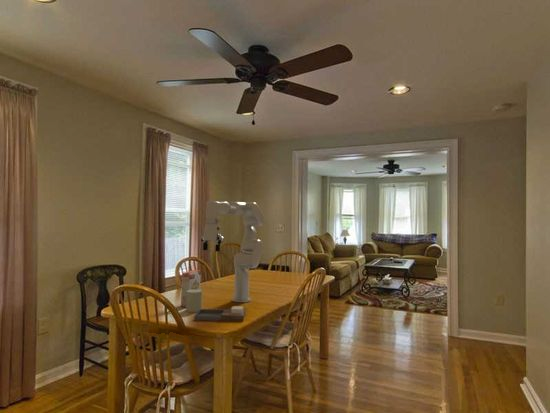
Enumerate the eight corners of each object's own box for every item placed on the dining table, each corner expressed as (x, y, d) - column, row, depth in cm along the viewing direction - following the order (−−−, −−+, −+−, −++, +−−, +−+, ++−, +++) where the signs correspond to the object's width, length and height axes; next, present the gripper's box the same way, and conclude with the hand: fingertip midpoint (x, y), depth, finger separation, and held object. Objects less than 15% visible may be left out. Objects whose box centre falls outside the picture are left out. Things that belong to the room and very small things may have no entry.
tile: (232, 310, 194) (232, 306, 195) (243, 310, 195) (243, 306, 195) (231, 313, 188) (231, 308, 189) (242, 313, 189) (242, 309, 189)
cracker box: (189, 307, 210) (189, 273, 211) (180, 306, 212) (181, 272, 212) (200, 302, 223) (201, 270, 224) (192, 301, 225) (193, 269, 226)
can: (202, 308, 210) (202, 288, 210) (201, 312, 201) (201, 291, 201) (186, 308, 209) (187, 288, 209) (185, 312, 199) (185, 291, 200)
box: (199, 313, 198) (199, 308, 198) (223, 313, 198) (224, 309, 198) (194, 320, 184) (194, 315, 184) (220, 320, 184) (220, 316, 184)
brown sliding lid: (224, 313, 198) (224, 308, 198) (245, 314, 198) (245, 308, 199) (220, 320, 184) (221, 315, 184) (243, 321, 184) (243, 315, 185)
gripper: (227, 222, 203) (226, 251, 202) (205, 221, 212) (204, 249, 211) (219, 222, 197) (218, 252, 196) (197, 221, 206) (196, 250, 205)
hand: (211, 250), depth 204 cm, fingers open, 9 cm apart
